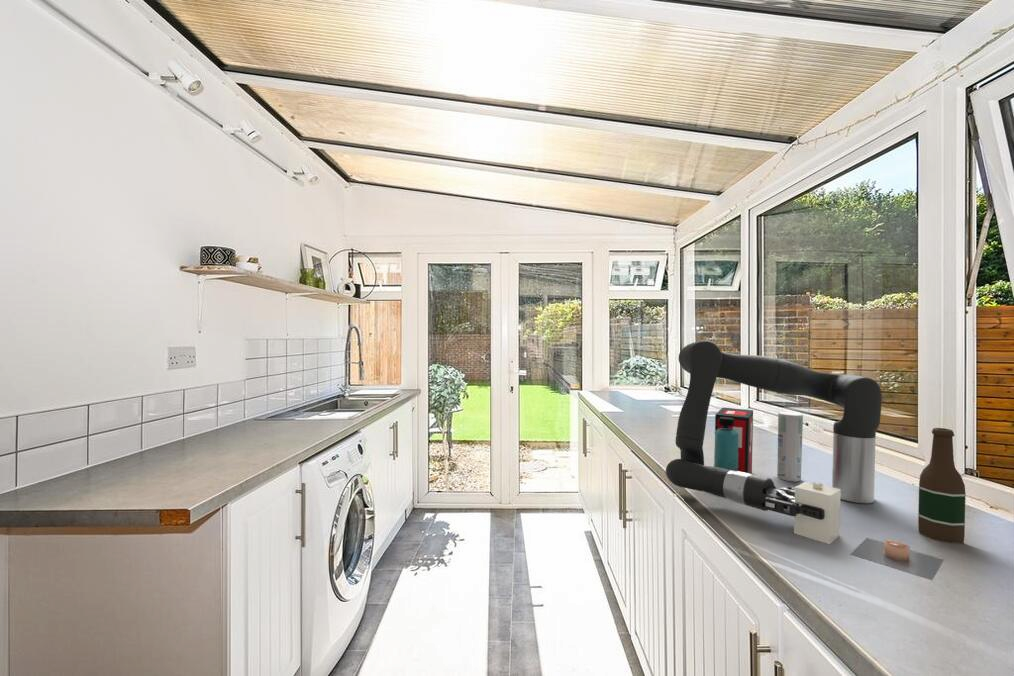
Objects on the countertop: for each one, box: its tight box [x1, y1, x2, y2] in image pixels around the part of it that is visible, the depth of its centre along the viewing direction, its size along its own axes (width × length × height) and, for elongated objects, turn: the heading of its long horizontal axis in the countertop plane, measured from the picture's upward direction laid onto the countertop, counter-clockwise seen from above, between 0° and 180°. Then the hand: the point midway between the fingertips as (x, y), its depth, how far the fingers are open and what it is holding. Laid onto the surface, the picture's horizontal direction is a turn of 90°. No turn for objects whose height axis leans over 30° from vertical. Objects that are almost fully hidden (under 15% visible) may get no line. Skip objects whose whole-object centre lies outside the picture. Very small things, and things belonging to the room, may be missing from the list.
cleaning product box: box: [714, 407, 754, 474], centre depth 143 cm, size 16×9×20 cm, turn 148°
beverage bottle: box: [713, 417, 739, 471], centre depth 133 cm, size 6×7×20 cm
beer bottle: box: [917, 427, 966, 545], centre depth 100 cm, size 8×8×24 cm
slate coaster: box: [849, 537, 944, 581], centre depth 90 cm, size 12×12×1 cm
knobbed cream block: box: [793, 481, 841, 545], centre depth 100 cm, size 7×7×11 cm
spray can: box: [776, 411, 804, 482], centre depth 142 cm, size 6×6×20 cm
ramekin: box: [883, 539, 911, 562], centre depth 90 cm, size 4×4×2 cm
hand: (829, 510), depth 98 cm, fingers closed on knobbed cream block, 6 cm apart
